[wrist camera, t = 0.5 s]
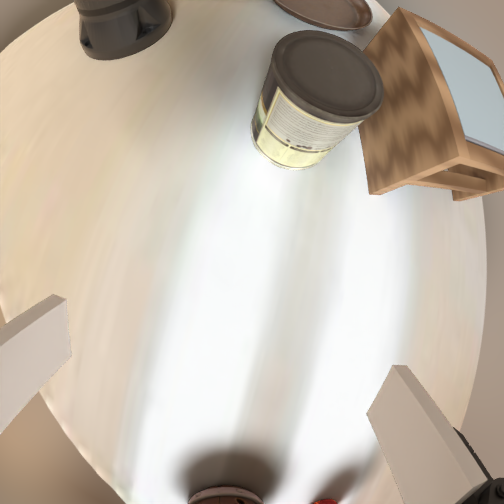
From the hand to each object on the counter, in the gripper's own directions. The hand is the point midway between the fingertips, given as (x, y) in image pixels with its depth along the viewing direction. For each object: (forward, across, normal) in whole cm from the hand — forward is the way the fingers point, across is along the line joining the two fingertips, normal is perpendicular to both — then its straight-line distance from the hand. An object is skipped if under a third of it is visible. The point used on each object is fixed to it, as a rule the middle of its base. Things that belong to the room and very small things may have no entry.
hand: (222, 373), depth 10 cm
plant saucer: (+37, +3, +45) cm, 58 cm away
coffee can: (+27, +3, +14) cm, 31 cm away
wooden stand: (+31, +21, +21) cm, 43 cm away
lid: (+16, +23, +25) cm, 37 cm away
